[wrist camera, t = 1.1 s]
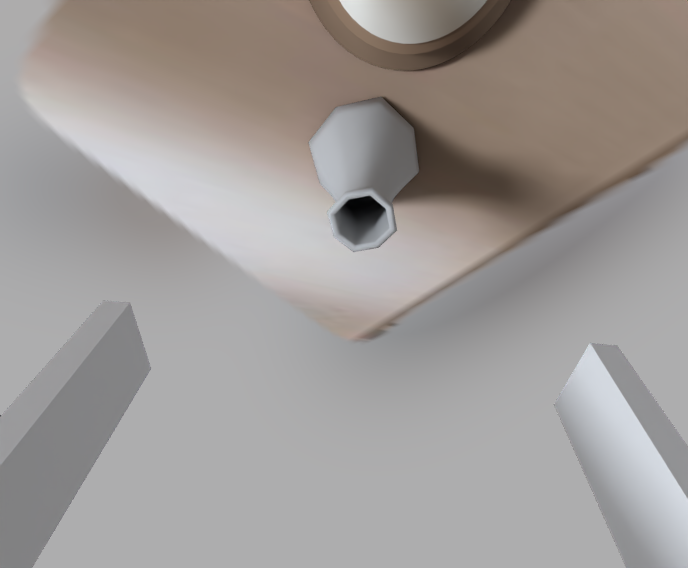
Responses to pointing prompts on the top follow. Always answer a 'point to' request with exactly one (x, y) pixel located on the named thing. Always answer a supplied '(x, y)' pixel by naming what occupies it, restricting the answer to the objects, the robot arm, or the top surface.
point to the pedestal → (407, 28)
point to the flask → (364, 169)
